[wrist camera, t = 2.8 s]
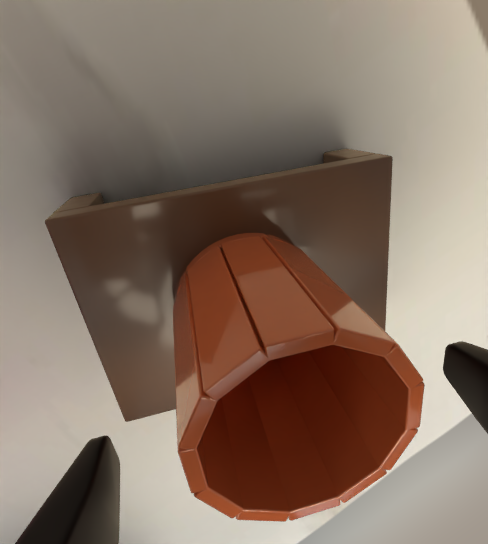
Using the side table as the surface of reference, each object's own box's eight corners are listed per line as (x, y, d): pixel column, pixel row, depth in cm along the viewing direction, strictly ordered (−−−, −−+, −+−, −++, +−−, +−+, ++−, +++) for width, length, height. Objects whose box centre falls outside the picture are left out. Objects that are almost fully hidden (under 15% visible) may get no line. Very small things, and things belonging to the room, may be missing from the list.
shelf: (349, 316, 19) (384, 355, 16) (132, 369, 18) (125, 423, 15) (347, 148, 16) (393, 155, 12) (70, 197, 14) (42, 220, 11)
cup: (318, 341, 15) (414, 483, 9) (191, 373, 14) (208, 547, 9) (311, 218, 13) (434, 303, 7) (158, 249, 12) (150, 373, 6)
